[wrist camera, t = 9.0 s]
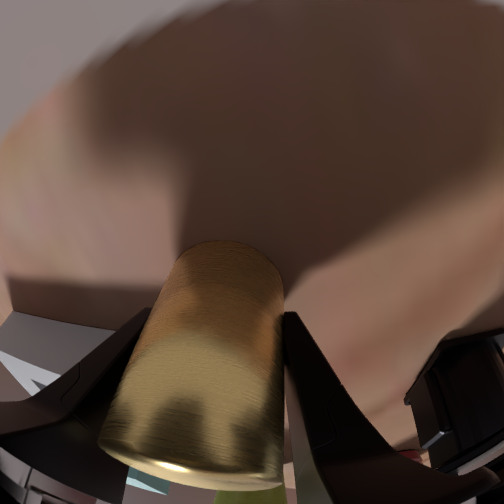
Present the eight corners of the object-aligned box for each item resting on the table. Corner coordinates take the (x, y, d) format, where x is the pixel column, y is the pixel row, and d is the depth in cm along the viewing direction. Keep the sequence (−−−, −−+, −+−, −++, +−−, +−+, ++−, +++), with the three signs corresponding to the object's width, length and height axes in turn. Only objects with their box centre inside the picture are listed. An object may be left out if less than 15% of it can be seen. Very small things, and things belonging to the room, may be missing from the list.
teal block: (143, 451, 14) (136, 479, 12) (172, 473, 18) (167, 495, 16) (74, 428, 15) (65, 451, 13) (111, 456, 19) (106, 476, 17)
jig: (152, 335, 13) (129, 394, 10) (210, 446, 22) (205, 478, 19) (12, 310, 14) (-12, 344, 11) (104, 424, 23) (95, 449, 20)
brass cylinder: (284, 239, 9) (288, 461, 3) (282, 330, 12) (279, 493, 6) (159, 241, 10) (62, 417, 4) (183, 326, 12) (138, 474, 6)
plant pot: (271, 447, 20) (266, 531, 13) (310, 465, 24) (310, 529, 17) (193, 452, 23) (181, 520, 16) (242, 471, 27) (236, 528, 20)
